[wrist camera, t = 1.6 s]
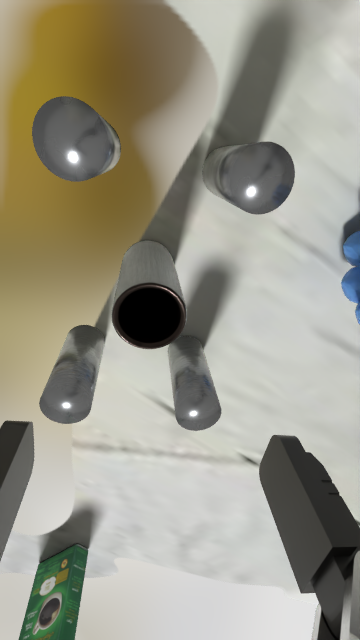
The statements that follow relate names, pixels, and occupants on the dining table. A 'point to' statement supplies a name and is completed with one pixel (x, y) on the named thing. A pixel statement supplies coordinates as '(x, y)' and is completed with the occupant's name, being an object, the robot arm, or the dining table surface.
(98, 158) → the spacer posts
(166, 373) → the dining table surface
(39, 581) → the coffee box
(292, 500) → the robot arm
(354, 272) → the grapes
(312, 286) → the dining table surface
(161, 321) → the hollow grey tube
